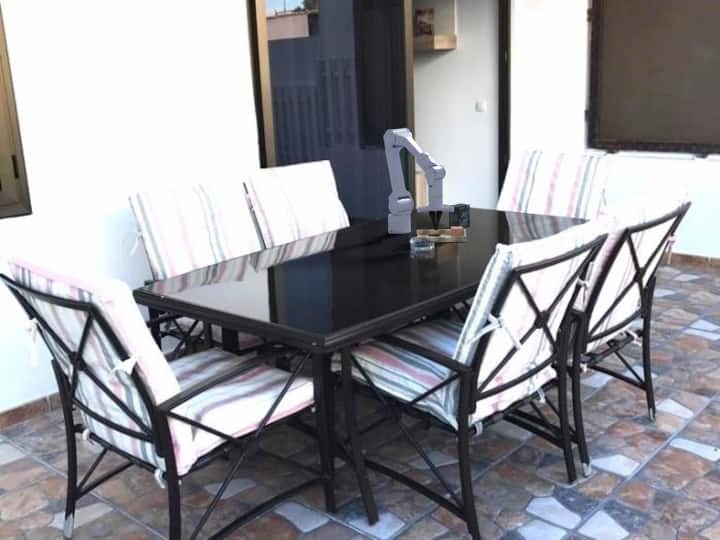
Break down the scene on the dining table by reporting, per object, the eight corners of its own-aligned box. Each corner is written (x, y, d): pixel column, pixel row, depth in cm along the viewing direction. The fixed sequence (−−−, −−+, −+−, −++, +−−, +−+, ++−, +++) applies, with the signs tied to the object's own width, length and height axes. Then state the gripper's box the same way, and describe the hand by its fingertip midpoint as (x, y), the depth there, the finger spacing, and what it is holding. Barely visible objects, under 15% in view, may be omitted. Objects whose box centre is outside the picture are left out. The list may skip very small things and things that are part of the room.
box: (459, 231, 312) (458, 206, 309) (448, 230, 316) (448, 205, 313) (470, 228, 317) (470, 204, 314) (460, 226, 321) (459, 203, 318)
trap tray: (414, 245, 290) (414, 237, 289) (416, 236, 305) (416, 229, 304) (466, 244, 287) (465, 237, 286) (466, 236, 302) (466, 228, 301)
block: (451, 238, 293) (450, 228, 292) (451, 236, 297) (451, 226, 296) (462, 238, 292) (462, 228, 291) (462, 236, 296) (462, 226, 295)
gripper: (416, 198, 289) (417, 231, 292) (453, 197, 286) (454, 231, 290) (417, 195, 295) (418, 228, 299) (454, 194, 293) (454, 227, 297)
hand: (436, 229), depth 295 cm, fingers closed
